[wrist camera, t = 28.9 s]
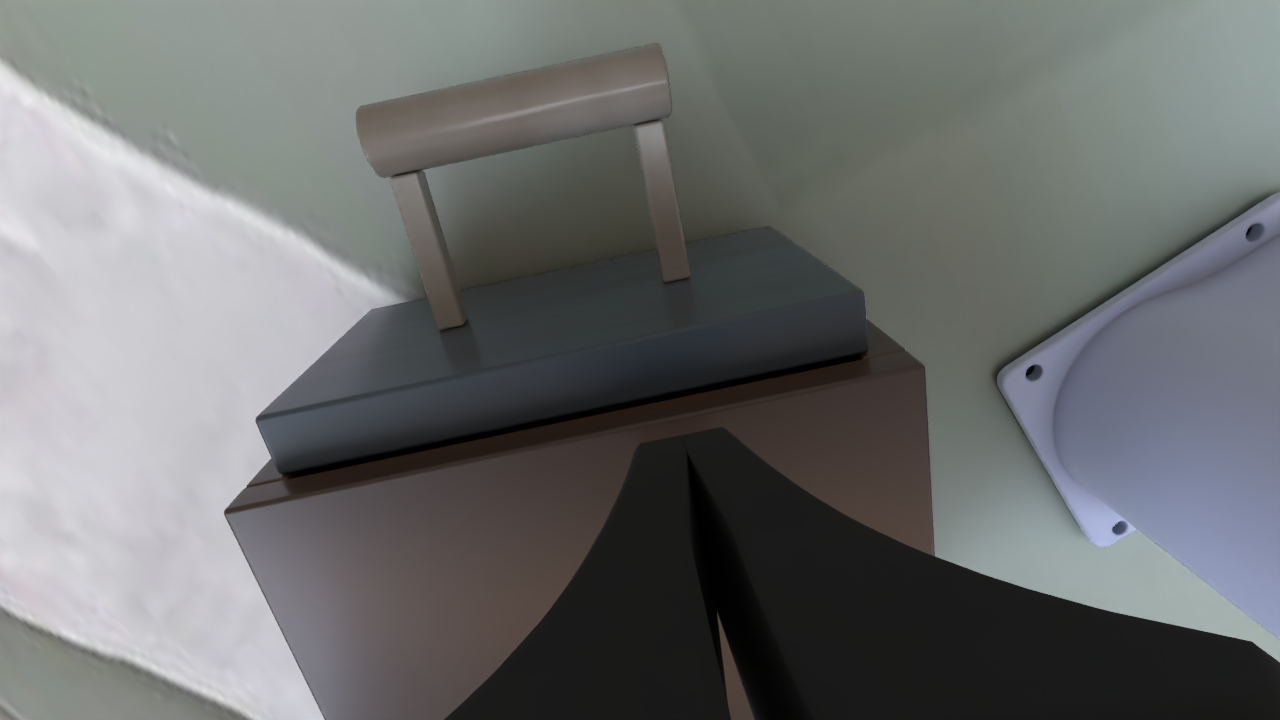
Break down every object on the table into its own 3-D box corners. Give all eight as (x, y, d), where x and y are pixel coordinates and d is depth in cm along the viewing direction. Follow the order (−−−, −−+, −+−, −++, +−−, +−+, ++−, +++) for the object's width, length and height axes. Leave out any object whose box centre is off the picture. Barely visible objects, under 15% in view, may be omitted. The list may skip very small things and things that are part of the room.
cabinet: (373, 344, 20) (220, 511, 12) (789, 256, 20) (926, 364, 11) (500, 697, 24) (454, 988, 16) (834, 628, 24) (953, 887, 16)
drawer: (304, 126, 17) (128, 141, 10) (745, 33, 17) (841, -11, 10) (495, 664, 23) (458, 880, 16) (818, 597, 23) (906, 790, 16)
